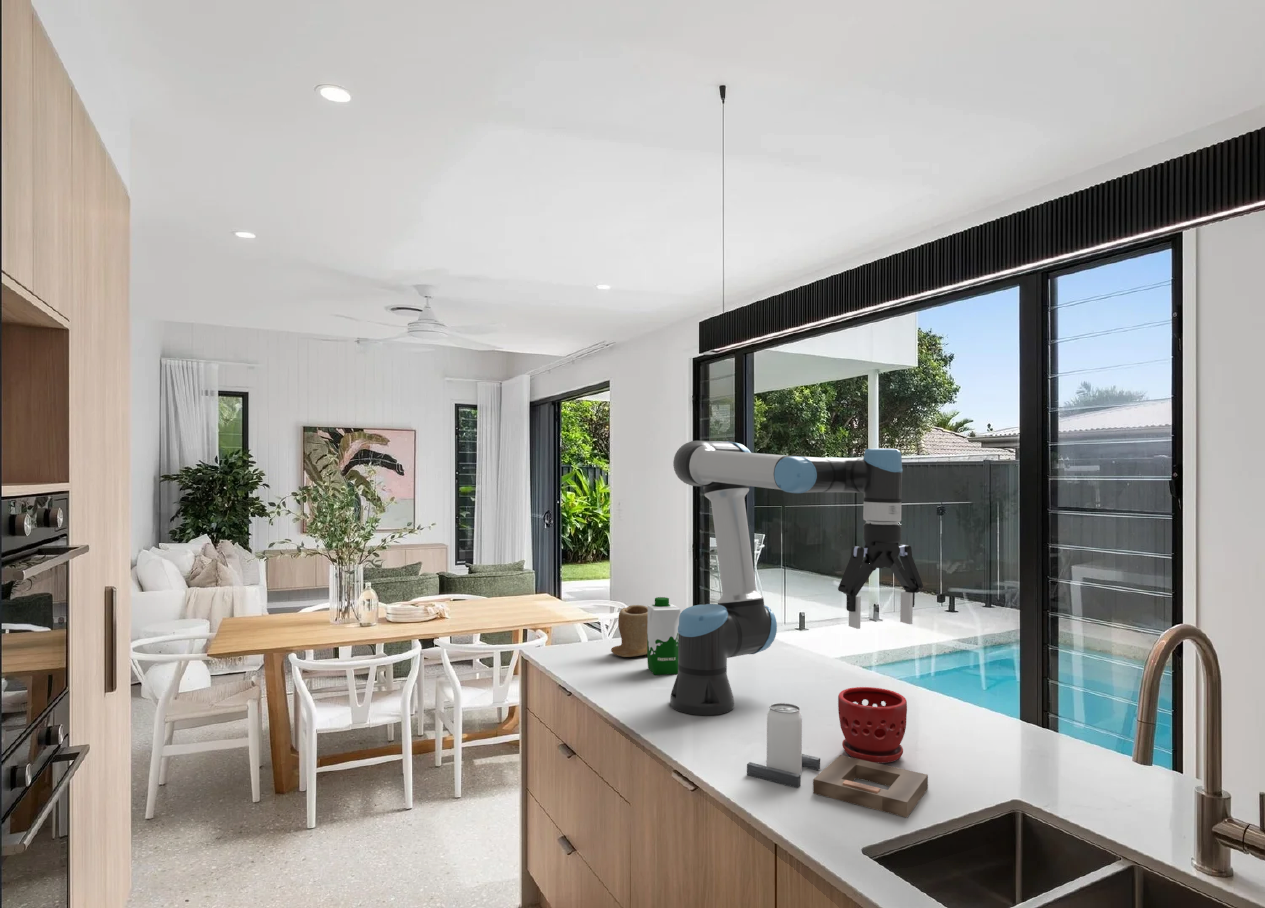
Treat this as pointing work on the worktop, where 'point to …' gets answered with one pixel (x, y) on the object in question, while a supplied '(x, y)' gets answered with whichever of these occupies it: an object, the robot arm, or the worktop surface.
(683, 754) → the worktop surface
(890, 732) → the plant pot
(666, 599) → the milk carton
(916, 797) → the plate
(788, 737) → the can
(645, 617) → the brown boot
